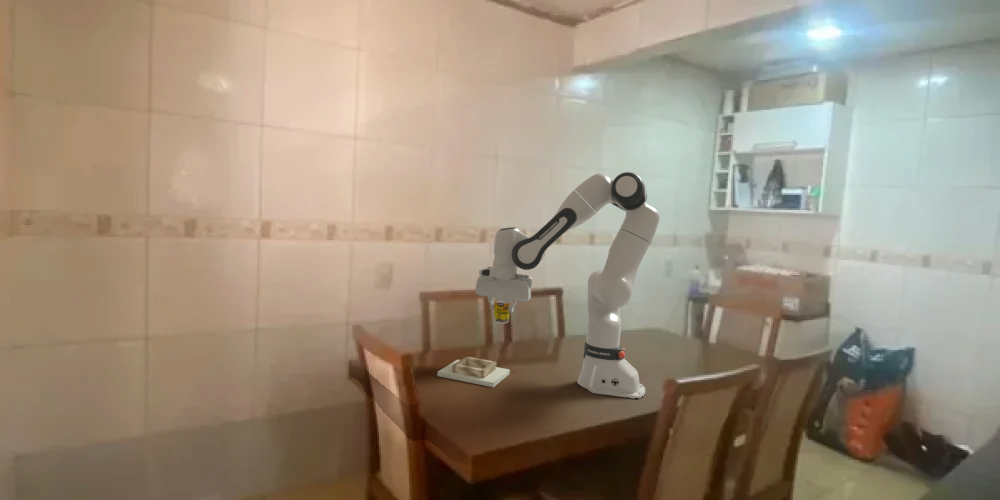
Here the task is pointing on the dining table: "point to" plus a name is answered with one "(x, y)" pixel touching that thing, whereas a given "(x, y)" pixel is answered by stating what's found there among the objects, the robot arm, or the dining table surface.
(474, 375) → the holder
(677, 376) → the dining table surface
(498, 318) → the supplement bottle
